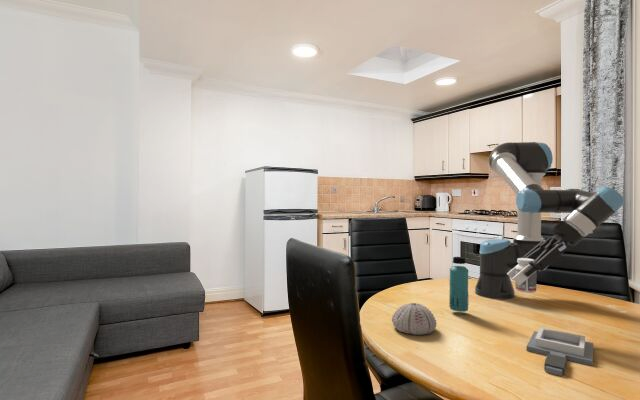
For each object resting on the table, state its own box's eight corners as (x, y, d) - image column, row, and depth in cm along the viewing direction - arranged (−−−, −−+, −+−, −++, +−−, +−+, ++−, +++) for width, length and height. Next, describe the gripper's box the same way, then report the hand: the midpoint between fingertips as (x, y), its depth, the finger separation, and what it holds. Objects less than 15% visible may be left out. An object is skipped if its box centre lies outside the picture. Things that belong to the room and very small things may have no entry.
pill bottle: (533, 289, 114) (534, 258, 114) (538, 294, 109) (538, 261, 109) (513, 287, 116) (514, 257, 116) (517, 292, 111) (517, 260, 111)
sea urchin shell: (435, 340, 102) (435, 312, 102) (388, 334, 107) (388, 307, 107) (437, 325, 115) (437, 300, 115) (394, 320, 119) (395, 296, 119)
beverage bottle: (469, 312, 129) (469, 256, 129) (468, 317, 123) (468, 259, 123) (449, 309, 131) (450, 255, 131) (448, 314, 125) (448, 257, 125)
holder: (519, 365, 87) (519, 352, 87) (534, 335, 107) (534, 324, 107) (591, 384, 78) (591, 369, 78) (593, 347, 98) (593, 335, 98)
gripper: (598, 241, 99) (531, 296, 104) (569, 234, 118) (513, 281, 122) (576, 222, 101) (511, 277, 105) (551, 218, 119) (496, 265, 123)
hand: (513, 279), depth 113 cm, fingers closed on pill bottle, 6 cm apart
